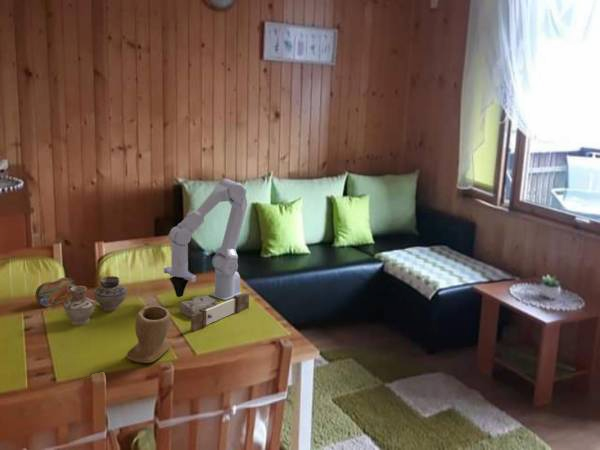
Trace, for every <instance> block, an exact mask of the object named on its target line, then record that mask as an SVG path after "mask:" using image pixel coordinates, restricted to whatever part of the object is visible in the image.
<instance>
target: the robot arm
mask: <svg viewBox="0 0 600 450" xmlns="http://www.w3.org/2000/svg"><path fill="white" fill-rule="evenodd" d="M246 194H247V189H246V188H245V186H244V185H243V183H241V182H236V181H234V180H231V179H229V178H223V179H220V181H219V183H217V184H216V185H215V186H214V189H213V190H212V192H211V193H210V195H209V196H208V197H207V198H206V199H205V200H204V201H203V203H201V205H200V206H199V207H198V209H196V210H191V211H190V212H187V213H186V216H185V218H184V219H183V220H181V222H179V223H178V224H177V225H176V226H174V227H172V228H171V230H170V231H169V233H168V238H169V240H170V241H171V244H170V245H171V246H170V247H171V251H170V252H171V255H170V256H171V267H170V266H166V267H163V274H169V276H170V278H169V281H170V282H171V284H172V286H173V289H174V293H175V295H176V297H178V298H182V297H183V296H184V293H185V290H186V287H187V284H188V283H189V282H190V283H194V282H196V281H197V275H195V274H193V273H191V272H190V271H189V260H188V259H189V247H188V246H189V243H190V242H191V239H192V236H193V234H194V233H195V232H196V231H197V230H198V228H199V227H201V225H202V224H203V223H205V216H206V215H208V214H209V212H211V211H212V210H213V209H214V208H215V207H216V206H217V205H218V204H219V203H222V202H229V204H230V205H231V207H230V212H229V215H228V219H227V224H226V227H225V231H224V235H223V239H222V243H221V246H220V247H219V248H217V249H216V254H215V255H214V256H213V257H212V261H211V264H212V267H214V271H215V272H214V292H212V293H209V296H210V297H212V298H213V297H214V298H217V299H219V300H223V301H228V300H231V299H233V298H234V296H235V295H238V296H239V295H241V294H243V292H241V275H240V273H239V271H238V268H239V264H238V259H239V255H238V253H237V247H238V243H239V238H240V234H241V231H242V226H243V225H244V220H245V216H246V212H247V208H248V201H247V195H246Z"/></svg>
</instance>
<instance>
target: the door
mask: <svg viewBox="0 0 600 450" xmlns="http://www.w3.org/2000/svg"><path fill="white" fill-rule="evenodd" d="M235 313H236V298H234V297H232V298H230V299H227V300H225V301H224V302H222V303H219V304H218V303H217V305H216V306H213V307H211V308H208V309H206V326H207V325H210V324H211V323H214V322H216V321H219V320H221V319H224V318H225V317H227V316H230V315H232V314H235Z"/></svg>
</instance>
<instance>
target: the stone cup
mask: <svg viewBox="0 0 600 450" xmlns="http://www.w3.org/2000/svg"><path fill="white" fill-rule="evenodd" d="M170 325H171V315H170V311H169V310H168V309H167V308H165V307H163V306H161V305H148V306H145V307H142V309H141V310H139V311H138V313H137V315H136V317H135V335H136V338H137V341H138V343H136V344H134V346H132V347H131V348H130V349H129V350H128V351H127V353H126V357H127V359H129V360H131V361H133V362H137V363H143V364H146V363H148V364H149V363H153V362H155V361H157V360H158V359H159V358H161V357H162V356H163V355H164V354H165V353H166V352H167V351H168V350H169V349H170V348H171V347H172V346H173V345H174V344H173V341H172V340H170V339H169V338H168V337H166V336H167V333H168V331H169V328H170Z"/></svg>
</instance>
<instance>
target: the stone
mask: <svg viewBox="0 0 600 450" xmlns="http://www.w3.org/2000/svg"><path fill="white" fill-rule="evenodd" d="M216 305H218V301H217V300H216V299H214V298H213V297H212V296H210V295H208V294H206V295H205V294H202V295H199V296H195V297H193V298H192V300H183V301H181V302H180V308H179V310H180V314H183V315H184V316H187V317H190V318H191V315H192V314H194V313H197V312H199V310H200V309H204V310H206V309H208V308H211V307H213V306H216Z"/></svg>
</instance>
